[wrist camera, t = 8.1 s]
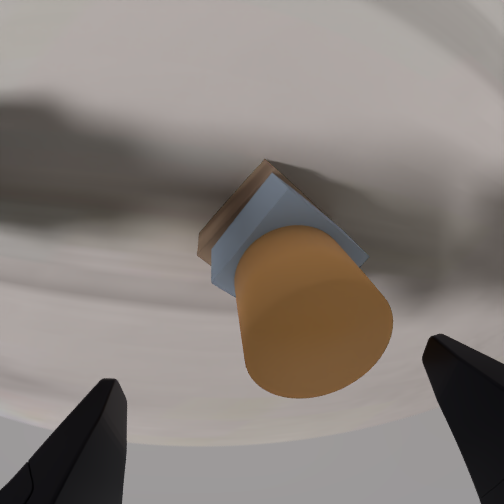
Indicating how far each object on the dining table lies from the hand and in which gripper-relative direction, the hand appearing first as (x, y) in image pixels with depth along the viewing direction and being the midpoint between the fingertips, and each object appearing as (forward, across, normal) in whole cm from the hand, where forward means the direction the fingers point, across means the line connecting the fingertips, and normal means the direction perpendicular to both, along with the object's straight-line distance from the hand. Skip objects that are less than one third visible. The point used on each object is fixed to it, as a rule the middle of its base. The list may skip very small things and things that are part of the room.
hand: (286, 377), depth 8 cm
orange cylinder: (+6, -2, +1) cm, 6 cm away
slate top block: (+10, -2, 0) cm, 10 cm away
